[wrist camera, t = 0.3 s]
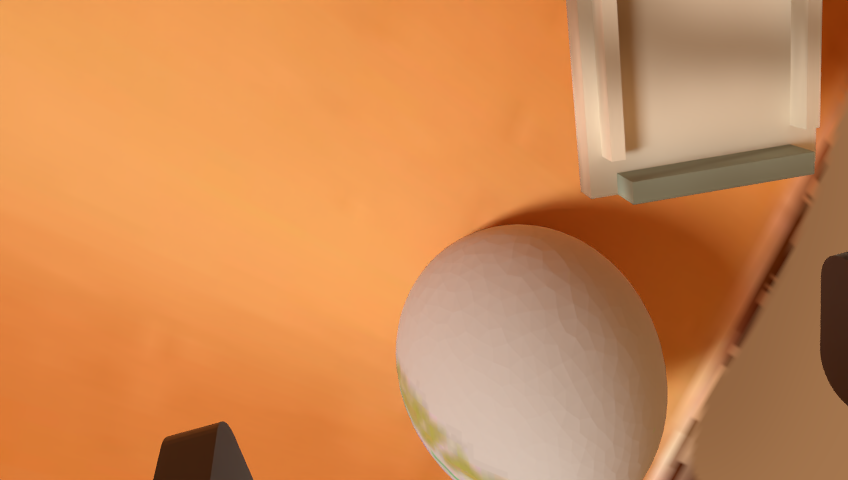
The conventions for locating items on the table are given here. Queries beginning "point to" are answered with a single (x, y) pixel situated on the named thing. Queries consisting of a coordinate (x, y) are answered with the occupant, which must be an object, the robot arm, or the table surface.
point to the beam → (693, 94)
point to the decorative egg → (531, 361)
